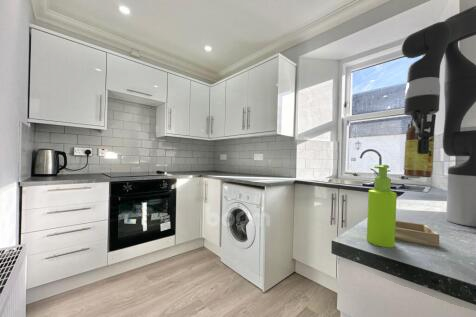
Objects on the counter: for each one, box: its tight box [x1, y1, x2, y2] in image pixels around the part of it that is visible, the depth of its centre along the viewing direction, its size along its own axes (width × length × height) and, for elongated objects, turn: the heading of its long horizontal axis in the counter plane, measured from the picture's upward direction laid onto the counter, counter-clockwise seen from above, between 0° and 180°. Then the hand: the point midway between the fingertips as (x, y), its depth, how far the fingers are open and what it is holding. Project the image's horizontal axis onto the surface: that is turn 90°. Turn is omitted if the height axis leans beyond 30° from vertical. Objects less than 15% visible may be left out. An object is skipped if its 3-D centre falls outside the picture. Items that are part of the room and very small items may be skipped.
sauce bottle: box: [403, 113, 435, 178], centre depth 59 cm, size 7×6×20 cm
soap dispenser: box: [366, 164, 398, 248], centre depth 51 cm, size 6×7×20 cm
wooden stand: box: [395, 220, 440, 248], centre depth 57 cm, size 9×10×3 cm
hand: (418, 154), depth 59 cm, fingers closed on sauce bottle, 6 cm apart
